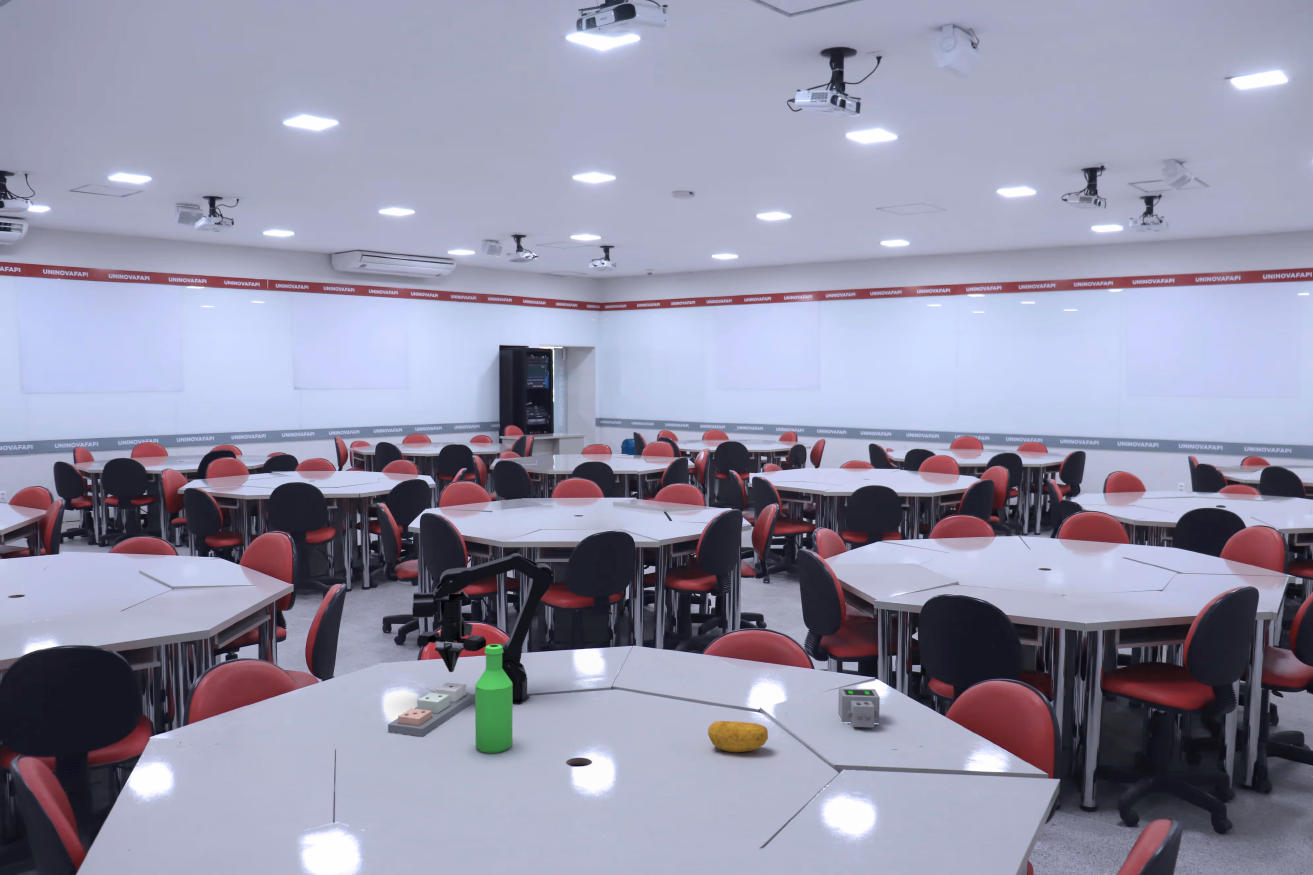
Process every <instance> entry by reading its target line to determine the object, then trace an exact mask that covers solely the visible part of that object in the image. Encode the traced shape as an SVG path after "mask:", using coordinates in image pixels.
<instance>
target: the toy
mask: <svg viewBox="0 0 1313 875" xmlns="http://www.w3.org/2000/svg"><path fill="white" fill-rule="evenodd" d="M880 698H881V697H880V696H879V694H878V692H877V691H876V689H875V688H851V687H850V688H845V687H844V688H843V687H839V688H838V702H837V703H838V704H837V705H838V706H837V708H838V709H837V710H838V712H837V713H838V714H839V716H840V718H841V721H842V722H851V724H850V725H851V726H852V727H853V728H875V725H874V723H879V724H880V703H881V702H880V700H881V699H880ZM838 714H837V715H838ZM839 716H838V717H839ZM840 718H839V719H840ZM841 721H840V722H841Z"/></svg>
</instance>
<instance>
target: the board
mask: <svg viewBox="0 0 1313 875" xmlns="http://www.w3.org/2000/svg"><path fill="white" fill-rule="evenodd" d="M474 702H475V693H469V692H466V695H465V696H464V697H462V698H461V699H459V700H458V701H456V702H450V706H449V707H447V708H446V709H444V710H442V711H441V712H439V713H438V714H437V713H432V718H431V719H430V720H428V721H427V722H425V723H424V724H422V725H421V726H412V725H404V724H398V718H396V719H394V720H393V721H391V722H389V723H388V724H387V732H388V733H393V734H398V735H399V734H400V735H405V736H406V735H407V736H415V737H425V736H427V735H428V734H429V733H431V732H432V731H433V730H435V729H436V728H439V726H441V725H443V724H444V723H445V722H447V721H448V720H450V719H451V718H453V717H454V716H456V715H457V714H458V713H460V712H461V711H462V710H464V709H466V708H468V707H469V706H470V705H472V704H473V703H474ZM413 709H418V705H417V706H416V707H414V708H413Z"/></svg>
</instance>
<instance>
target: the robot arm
mask: <svg viewBox="0 0 1313 875" xmlns="http://www.w3.org/2000/svg"><path fill="white" fill-rule="evenodd" d="M514 570H517V572H520V573H522V574H523V575H525V576H527V577H528V578H529V582H528V588H527V593H526V596H525V599H524V600H523V601H524V602H523V603H522V606H521V609H520V611H519V614H518V616H517V619H516V622H515V624H514V627H513V629H512V632H511V635H509V636H510V637H509V639H508V640H507V641H506V643H503V642H500V643H499V645H501V646H502V647H503V653H502V669H503V670H504V672H505V673H506V674H507V676H508V677H509V679H510V680H511V681H512V683H513V704H518V705H520V704H523V703H524V702H525V701H526V700H528V699H529V698H530V696H531V695H530V694H528V676H527V672H526V669H525V665H523V664H522V663H521V660H522V652H523V646H524V643H525V640H526V638H527V635H528V633H529V631H530V627H531V625H532V622H533V619H534V617H535V615H536V612H537V610H538V608H539V605H540V602H541V600H542V598H543V597H544V595H545V594H546V593H547V592H548V591H549V590H550V587H551V586H552V584H553V582H554V580H555V574H554V572H553V570H552V568H551V567H550V566H549V565H548V564H547V563H544V562H540V563H537V562H536V561H534V560H532V559H530V558H528V557H525V556H523V555H521V554H520V553H517V552H514V553H511V554H510V555H507V556H504V557H500V558H498V559H495V560H491V561H487V562H484V563H481V564H477V565H473V566H468V567H456V568H455V567H454V568H449V569H448V568H447V569H446V570H444V571H443V572H442V573H441V574H440V578H439V583H438V584H437V586H436V587H435V588H434V589H433V592H413V595H412V596H413V597H412V598H413V599H412V600H413V601H412V619H421V618H422V619H423V618H434V616H436V614H438V613H439V610H438V608H440V616H439V617H440V618H439V619H440V620H437V626H439V627H440V633H439V632H438V631H429V630H428V631H425V632H424V633H421V634H418V636H417V638H416V646H417V647H425V648H426V647H427V646H428V645H429V644H430V643H431V644H434V643H435V645H436V647H435V648H434V651H436V652H437V653H438V654H439V656H440V657H441V659H442V661H443V663H444V665H445V666H446V668H447V670H448V672H449V673H453V672H454V671H455V668H456V666H457V662H458V659H459V657H460V655H461V653H462V651H463V650H465V651H468V652H478V651H480V650H481V649H483V648H486V646H487V640H486V638H485V636H484V635H472V632H473V626H474V624H472V623H469V622H468V623H467V622H466V620H465V617H463V616H462V615H463V614H462V606H463V605H462V604H463V603H462V601H468V600H469V595H468V594H467V593H466V592H465V591H464V589H466V588H467V587H469V586H470V585H472V584H473V583H476V582H478V581H481V580H485V579H488V578H492V577H495V576H497V575H501V574H504V573H507V572H511V571H514ZM447 595H448V596H447ZM439 602H440V604H438V603H439ZM439 605H440V606H439ZM466 636H469V637H467V638H465V637H466Z"/></svg>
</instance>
